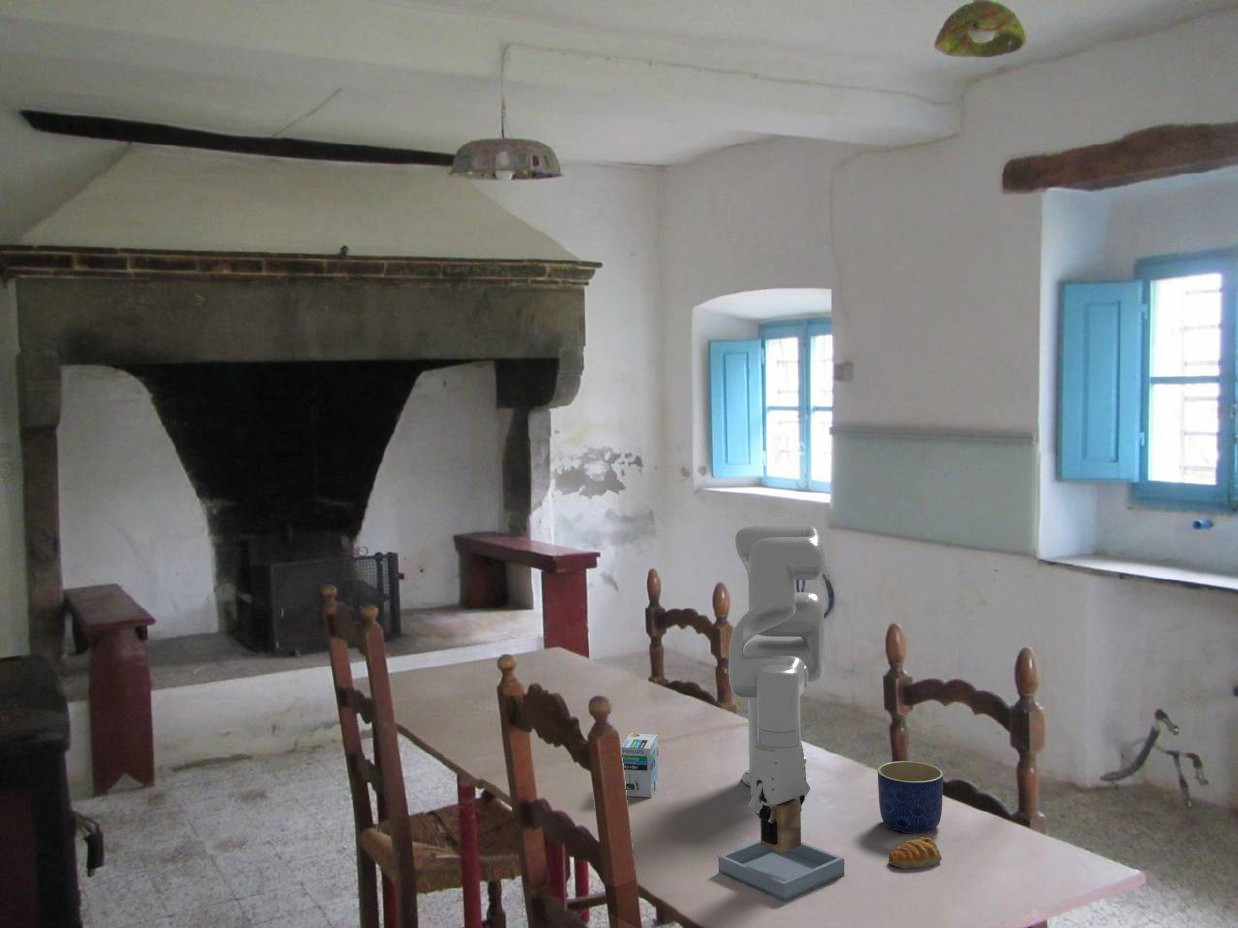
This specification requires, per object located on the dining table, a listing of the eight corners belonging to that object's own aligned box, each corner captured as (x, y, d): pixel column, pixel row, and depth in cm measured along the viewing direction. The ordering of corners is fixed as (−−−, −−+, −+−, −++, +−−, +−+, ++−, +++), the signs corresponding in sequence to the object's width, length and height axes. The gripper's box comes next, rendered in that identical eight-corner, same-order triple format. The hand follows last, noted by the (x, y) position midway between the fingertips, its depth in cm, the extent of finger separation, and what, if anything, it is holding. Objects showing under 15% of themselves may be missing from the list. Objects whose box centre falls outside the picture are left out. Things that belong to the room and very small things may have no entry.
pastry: (905, 875, 196) (904, 853, 196) (879, 861, 202) (878, 841, 202) (945, 863, 200) (944, 842, 200) (918, 851, 206) (918, 830, 206)
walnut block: (779, 837, 200) (779, 792, 200) (801, 845, 196) (800, 799, 196) (760, 844, 197) (759, 799, 196) (781, 852, 193) (781, 806, 193)
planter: (868, 830, 216) (867, 774, 215) (891, 809, 226) (890, 757, 226) (931, 843, 209) (930, 786, 208) (952, 821, 219) (951, 767, 219)
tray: (778, 848, 208) (778, 832, 208) (844, 874, 196) (844, 858, 196) (718, 872, 198) (718, 855, 198) (784, 901, 186) (783, 883, 186)
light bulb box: (652, 798, 236) (650, 748, 235) (620, 796, 237) (619, 747, 237) (660, 781, 247) (659, 733, 246) (630, 779, 248) (629, 732, 247)
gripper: (795, 722, 204) (796, 820, 205) (729, 742, 193) (731, 844, 194) (827, 731, 198) (828, 831, 199) (761, 751, 187) (762, 857, 188)
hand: (780, 836), depth 196 cm, fingers closed on walnut block, 5 cm apart
